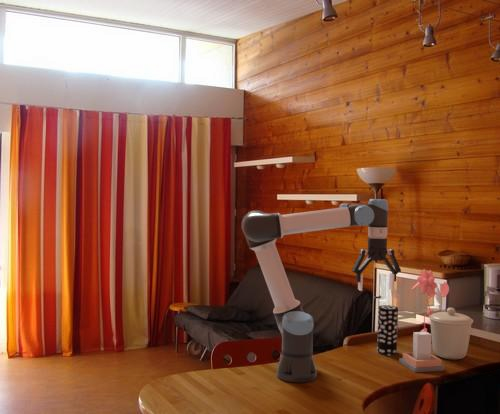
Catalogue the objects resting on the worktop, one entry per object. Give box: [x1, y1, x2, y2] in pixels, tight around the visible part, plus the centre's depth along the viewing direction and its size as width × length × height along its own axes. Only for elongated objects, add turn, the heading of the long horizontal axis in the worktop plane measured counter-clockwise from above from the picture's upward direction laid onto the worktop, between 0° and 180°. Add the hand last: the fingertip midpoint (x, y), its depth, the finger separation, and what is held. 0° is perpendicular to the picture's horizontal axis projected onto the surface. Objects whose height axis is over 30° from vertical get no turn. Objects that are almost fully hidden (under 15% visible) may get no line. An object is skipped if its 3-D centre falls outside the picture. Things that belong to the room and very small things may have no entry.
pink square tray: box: [398, 351, 445, 373], centre depth 231 cm, size 13×13×4 cm
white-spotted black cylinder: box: [376, 304, 399, 357], centre depth 248 cm, size 8×8×20 cm
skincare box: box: [412, 331, 432, 360], centre depth 231 cm, size 6×4×12 cm
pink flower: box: [410, 268, 450, 352], centre depth 262 cm, size 15×26×35 cm, turn 22°
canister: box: [428, 307, 474, 360], centre depth 245 cm, size 18×18×21 cm
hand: (375, 290), depth 230 cm, fingers open, 13 cm apart
